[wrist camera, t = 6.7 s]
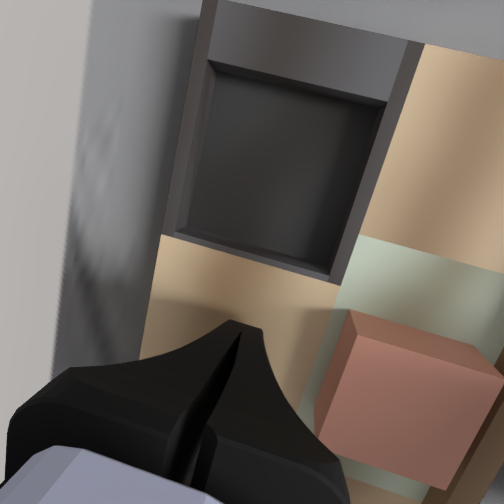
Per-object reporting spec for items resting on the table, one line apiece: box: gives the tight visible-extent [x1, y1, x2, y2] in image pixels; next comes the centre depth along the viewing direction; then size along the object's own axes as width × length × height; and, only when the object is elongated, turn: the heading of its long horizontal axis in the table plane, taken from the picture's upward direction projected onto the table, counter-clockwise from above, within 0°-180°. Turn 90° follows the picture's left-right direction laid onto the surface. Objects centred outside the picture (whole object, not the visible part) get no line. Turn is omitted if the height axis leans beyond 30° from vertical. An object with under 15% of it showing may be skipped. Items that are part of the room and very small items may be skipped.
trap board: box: [139, 0, 504, 504], centre depth 13 cm, size 14×22×3 cm, turn 166°
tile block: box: [314, 309, 504, 491], centre depth 12 cm, size 4×4×2 cm
